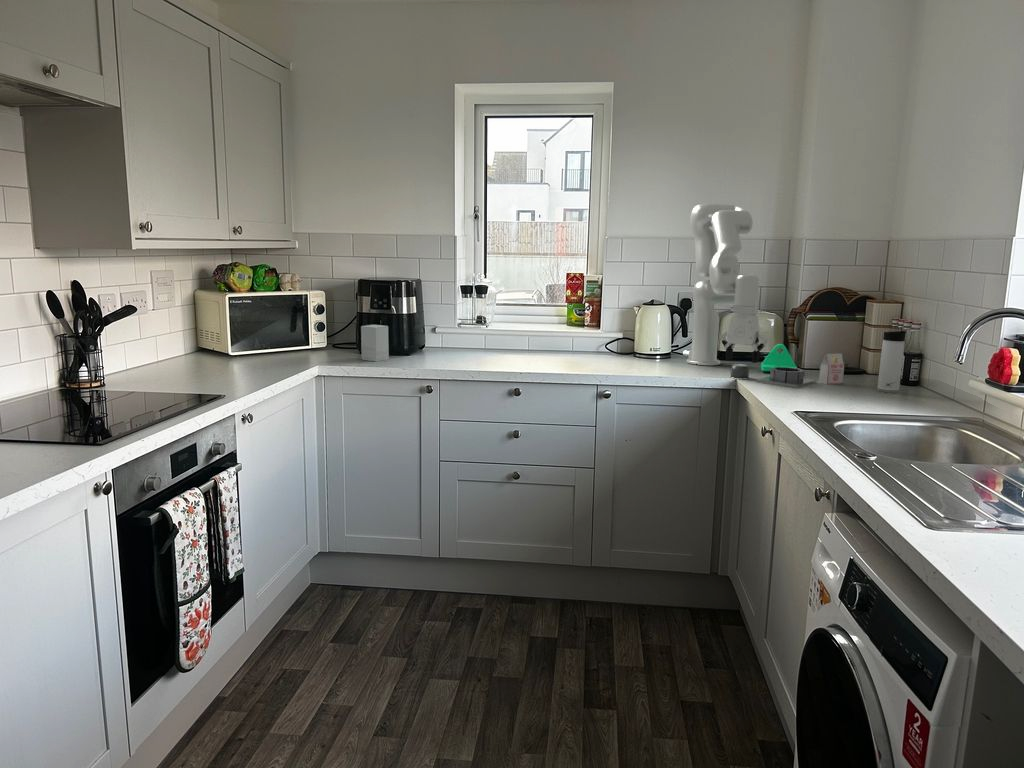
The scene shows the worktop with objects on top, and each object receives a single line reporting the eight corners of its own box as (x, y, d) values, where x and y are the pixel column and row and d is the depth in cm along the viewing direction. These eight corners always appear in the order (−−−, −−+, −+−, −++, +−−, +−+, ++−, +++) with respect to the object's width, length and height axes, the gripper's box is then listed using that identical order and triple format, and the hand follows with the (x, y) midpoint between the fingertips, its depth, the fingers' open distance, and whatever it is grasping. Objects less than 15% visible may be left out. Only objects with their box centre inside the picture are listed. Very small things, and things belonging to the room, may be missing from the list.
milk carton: (818, 382, 261) (821, 353, 259) (834, 381, 263) (837, 352, 261) (826, 384, 257) (829, 355, 255) (842, 383, 260) (845, 354, 258)
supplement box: (389, 359, 286) (389, 325, 284) (375, 361, 280) (375, 327, 278) (374, 357, 290) (374, 324, 288) (360, 359, 284) (360, 325, 282)
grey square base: (756, 381, 258) (757, 368, 258) (776, 377, 268) (777, 364, 267) (797, 388, 249) (798, 374, 248) (815, 383, 259) (816, 370, 258)
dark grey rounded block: (727, 377, 266) (728, 364, 265) (735, 375, 270) (736, 363, 269) (743, 380, 262) (744, 367, 261) (751, 378, 266) (752, 365, 265)
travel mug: (890, 394, 242) (898, 331, 238) (872, 390, 248) (879, 329, 244) (903, 393, 245) (911, 330, 241) (885, 389, 251) (892, 328, 247)
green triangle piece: (761, 373, 277) (763, 345, 275) (760, 370, 284) (763, 342, 282) (796, 376, 273) (799, 347, 271) (795, 372, 280) (797, 344, 279)
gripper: (716, 310, 265) (713, 359, 267) (763, 312, 253) (760, 364, 255) (727, 309, 270) (724, 357, 273) (774, 312, 258) (770, 362, 261)
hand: (741, 361), depth 264 cm, fingers open, 9 cm apart
